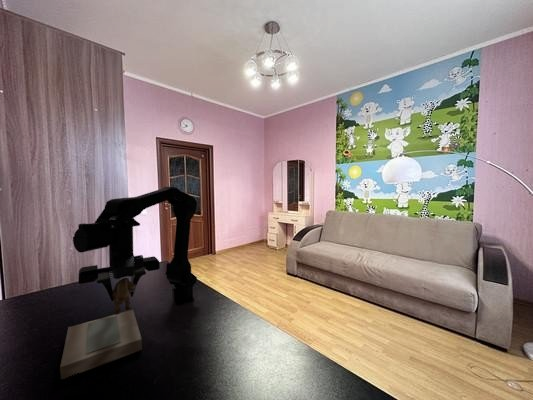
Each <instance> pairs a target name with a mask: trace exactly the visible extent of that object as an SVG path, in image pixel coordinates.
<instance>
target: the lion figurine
mask: <svg viewBox="0 0 533 400" xmlns="http://www.w3.org/2000/svg"><path fill="white" fill-rule="evenodd" d="M135 287H136V288H137V285H136V284H134V283H132V282H131V280H130V279H129V277H122V278H120V279H118V282H117V283H116V284H115V286H114V287H113V289H112V291H113V293H112V296H113V299H114V301H113V304H114V309H113V310H114V311H115V313H114V315H118V314H120V313H122V312H121V309H120V305H122V304H123V303H124V302H125V303H124V304H125V312H126V311H130V310H133V309H132V307H130V305H131V302H130V297H131V294H130V292H134V293H135V291H134V288H135ZM136 288H135V289H136Z"/></svg>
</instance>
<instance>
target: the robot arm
mask: <svg viewBox="0 0 533 400" xmlns="http://www.w3.org/2000/svg"><path fill="white" fill-rule="evenodd" d="M166 201H167V203H168V204H169V205H171V207H172V211H173V215H174V217H175V218H176V221H175V222H176V223H175V225H176V226H175V236H174V247H173V258H172V259H171V261H170V262H168V263H166V265H165V266H166V269H165V273H164V274H165V275H166V279H167V280H168V282H169V285H173V288H172V290H171V292H172V293H171V297H172V301H173V302H174V303H175V304H176V305H177V306H180V305H183V304H186V303H190V302H193V301H195V297H194V292H193V291H194V290H193V288H194V287H195V284H197V279H198V277H197V276H196V274H195V275H194V274H193V273H192V264H191V262H190V260H189V256H188V255H189V245H190V244H189V243H190V233H191V220H192V219H193V217H194V215H195V214H196V212H197V205H198V200H197V199H196V198H195V197H194V196H191V195H189V194H188V193H186V192H184V191H182V190H180V188H178V187H176V186H164V187H163V188H160V189H157V190H154V191H150V192H147V193H144V194H140V195H138V196H133V197H132V196H131V197H121V198H120V197H119V198H111V199H108V201H106V202H105V203H106V204H105V205H104V208H103V210H102V211H101V213H100V214H99V216H98V217H97V218H96V219H95V221H94V223H93V222H92V223H79V224H78V228H77V230H75V233H74V234H73V236H72V243H73V247H74V248H75V250H76V252H78V253H87V252H92V251H95V250H99V249H103V248H107V247H108V253H109V254H108V258H109V259H108V260H109V262H108V263H109V265H108V266H106V267H100V268H99V267H98V264H95V265H89V266H88V265H87V266H84V267H83V266H82V267H81V268H80V269H79V270H78V284H79V285H84V284H87V283H93V282H96V283H97V284H98V285H99V284H102V285H103V286H104V288H105V289H106V292H107V294H108V295H109V298H110V300H111V302H114V299H113V296H112V293H113V286H112V281H111V276H110V274H111V275H112V278H113V279H114V280H121V279H123V278H129V277H130V282H132V283H134V284H136V287H135V288H134V292H130V297H133V296H134V294H135V291H136V288H137V285H138V283H139V280H140V279H141V278H142V276H144V275H147V272H152V271H158V270H160V268H161V267H160V260H159V259H158V258H157V257H156V256H153V255H152V256H148V257H147V256H146V257H144V255H143V254H140V255H135V254H134V228H135V227H139V226H141V223H140V222H139V221H137V220H136V219H135V218H136V217H137V216H139V215H141V213H143V211H144V210H145V209H147V208H151V207H153V206H156V205H159V204H162V203H164V202H166Z"/></svg>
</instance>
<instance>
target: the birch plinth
mask: <svg viewBox="0 0 533 400" xmlns="http://www.w3.org/2000/svg"><path fill="white" fill-rule="evenodd" d="M142 342H143V341H142V335H141V332H140V328H139V326H138V321H137V318H136V315H135V311H134V309H131V310H129V311H126V310H125V311H123V312H120V314H118V315H115V314H112V315H108V316H105V317H102V318H97V319H94V320H90V321H86V322H82V323H79V324H76V325H73V326H68V329H67V333H66V338H65V342H64V348H63V353H62V358H61V361H60V366H59V373H60V374H59V375H60V380H61V379H63V380H65V379H67V377H68V378H70V377H69V376H71V377H73V376H75V375H74V374H76V375H78V374H77V373H79V374H81V373H84V372H87V371H89V370H91V369H94V368H97V367H100V366H102V365H105V364H108V363H111V362H114V361H116V360H118V359H121V358H125V357H126V356H130V355H131V354H134V353H137V352H139V351H142V350H143V343H142ZM72 375H73V376H72Z"/></svg>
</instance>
